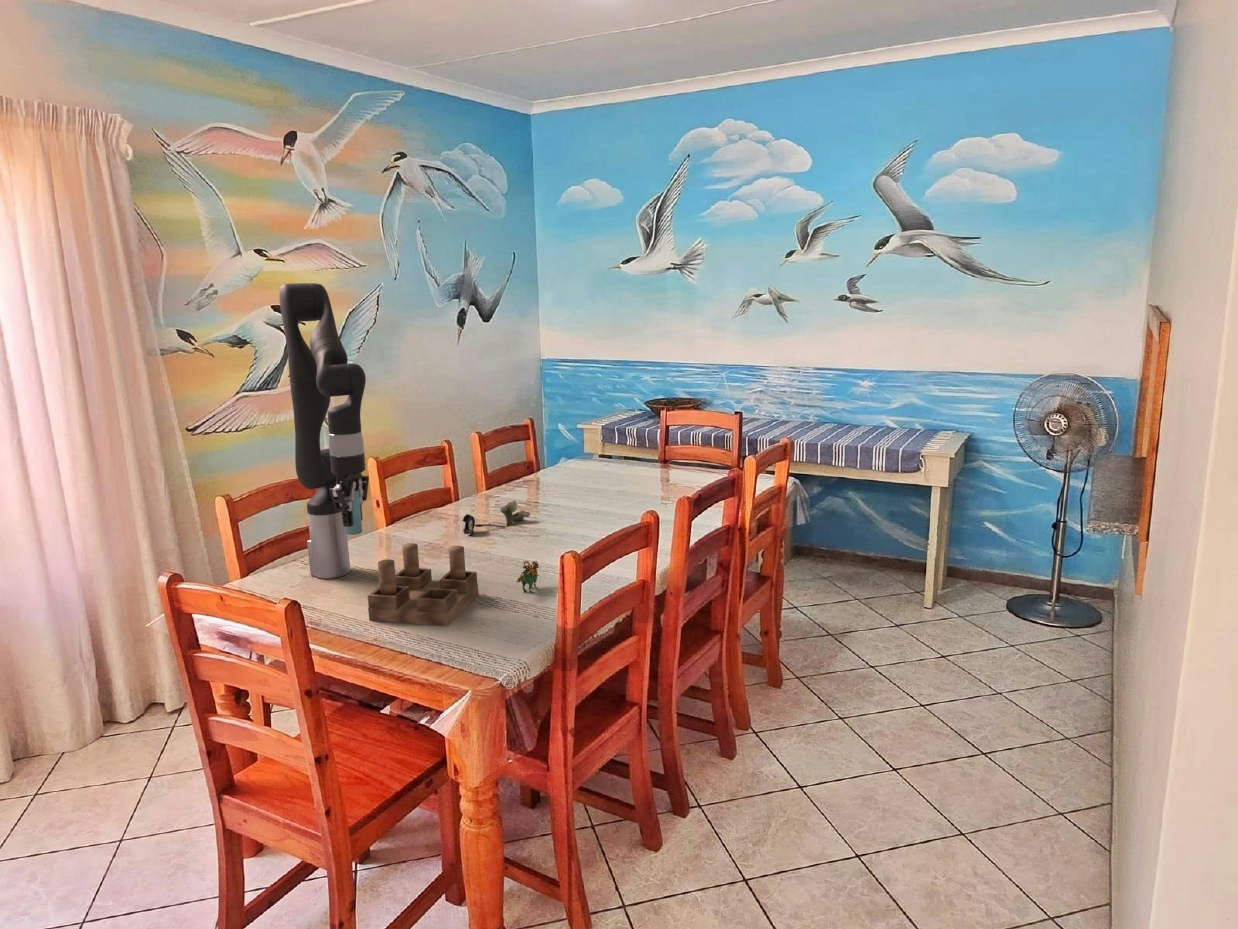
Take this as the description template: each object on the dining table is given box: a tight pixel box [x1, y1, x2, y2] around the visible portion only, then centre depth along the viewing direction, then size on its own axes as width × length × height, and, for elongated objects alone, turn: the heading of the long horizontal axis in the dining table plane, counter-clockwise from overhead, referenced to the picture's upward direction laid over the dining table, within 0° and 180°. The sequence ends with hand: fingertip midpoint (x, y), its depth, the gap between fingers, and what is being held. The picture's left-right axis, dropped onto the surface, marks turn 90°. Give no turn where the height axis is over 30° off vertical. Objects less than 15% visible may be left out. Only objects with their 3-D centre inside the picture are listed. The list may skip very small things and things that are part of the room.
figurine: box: [515, 560, 540, 594], centre depth 201 cm, size 3×12×8 cm, turn 160°
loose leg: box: [344, 490, 363, 536], centre depth 190 cm, size 4×4×10 cm
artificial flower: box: [461, 499, 531, 536], centre depth 255 cm, size 9×22×10 cm, turn 128°
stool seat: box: [367, 542, 480, 627], centre depth 192 cm, size 19×19×13 cm
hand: (353, 523), depth 191 cm, fingers closed on loose leg, 3 cm apart
